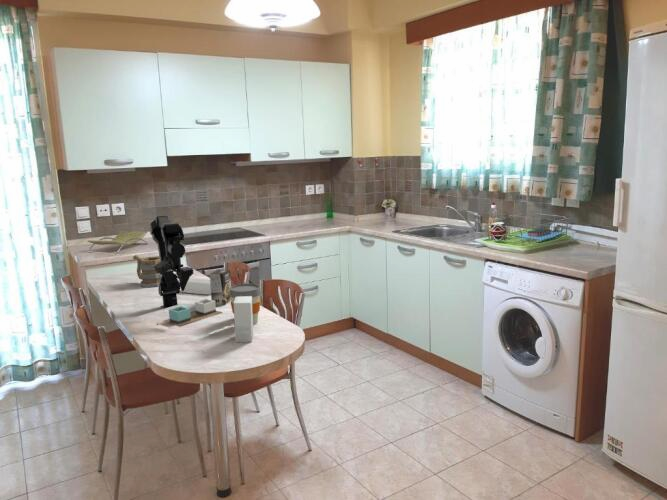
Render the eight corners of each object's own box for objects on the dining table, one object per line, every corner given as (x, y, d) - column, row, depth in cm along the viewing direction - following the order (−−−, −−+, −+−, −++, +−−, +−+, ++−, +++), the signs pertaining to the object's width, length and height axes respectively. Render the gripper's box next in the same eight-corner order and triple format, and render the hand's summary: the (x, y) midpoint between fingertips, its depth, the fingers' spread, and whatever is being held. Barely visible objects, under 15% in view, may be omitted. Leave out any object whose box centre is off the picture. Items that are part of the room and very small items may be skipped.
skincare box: (237, 335, 203) (234, 296, 200) (254, 334, 204) (252, 295, 201) (235, 343, 195) (232, 302, 192) (253, 342, 196) (251, 301, 192)
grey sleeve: (195, 313, 226) (194, 302, 225) (206, 309, 231) (206, 298, 230) (204, 315, 222) (203, 304, 221) (215, 312, 227) (215, 300, 226)
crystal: (229, 284, 264) (188, 280, 272) (221, 280, 257) (180, 277, 266) (225, 298, 262) (185, 294, 270) (218, 295, 255) (177, 291, 264)
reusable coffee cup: (248, 329, 209) (246, 293, 206) (224, 324, 215) (222, 289, 212) (268, 320, 219) (266, 285, 216) (245, 316, 226) (243, 282, 223)
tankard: (171, 283, 283) (168, 255, 280) (151, 288, 273) (149, 260, 270) (146, 278, 294) (144, 252, 291) (126, 284, 283) (124, 256, 280)
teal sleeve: (181, 317, 221) (181, 306, 220) (190, 320, 217) (190, 308, 216) (169, 321, 216) (168, 309, 215) (178, 324, 212) (177, 312, 211)
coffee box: (224, 309, 236) (222, 273, 233) (211, 308, 238) (209, 273, 234) (232, 303, 245) (230, 269, 242) (219, 302, 246) (217, 268, 243)
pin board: (162, 324, 217) (161, 310, 216) (205, 310, 234) (204, 297, 233) (180, 330, 210) (179, 315, 209) (223, 315, 227) (222, 302, 226)
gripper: (143, 254, 222) (146, 290, 225) (170, 259, 210) (173, 297, 213) (166, 249, 230) (168, 284, 233) (193, 254, 219) (195, 290, 222)
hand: (175, 289), depth 225 cm, fingers open, 9 cm apart
